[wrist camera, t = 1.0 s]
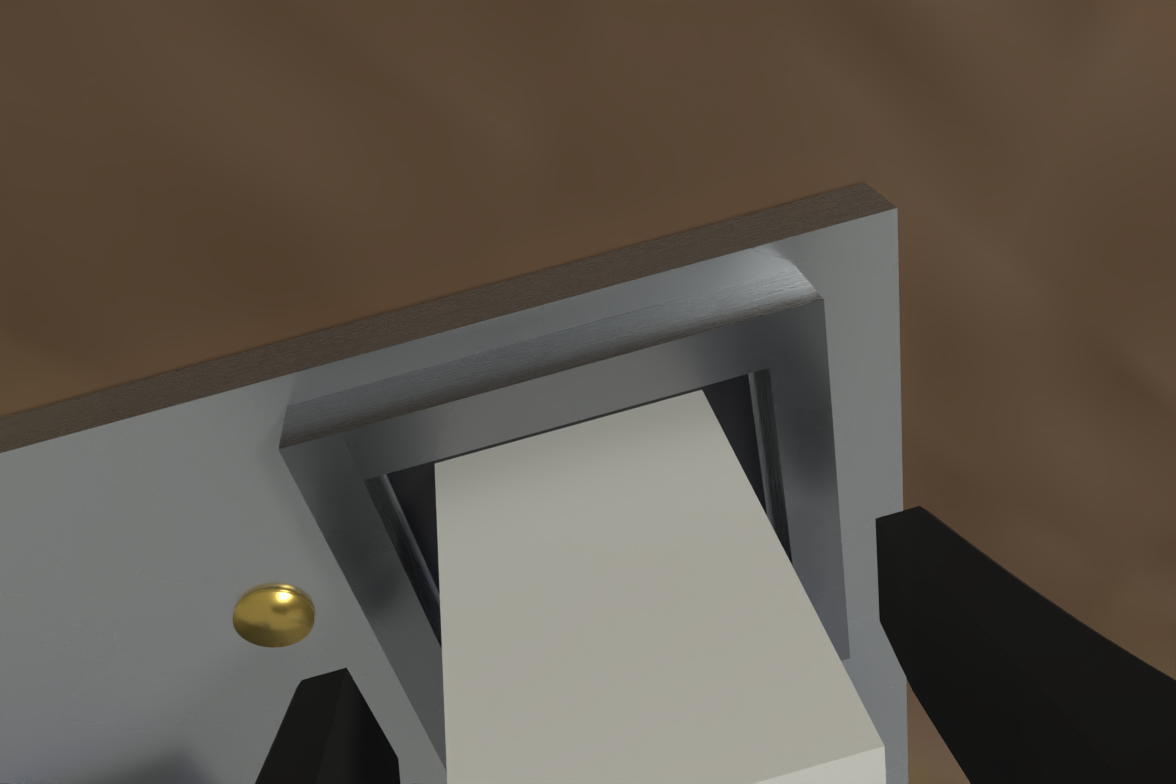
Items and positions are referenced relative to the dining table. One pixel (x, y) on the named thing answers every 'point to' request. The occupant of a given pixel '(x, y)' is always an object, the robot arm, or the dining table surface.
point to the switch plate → (424, 490)
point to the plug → (632, 617)
